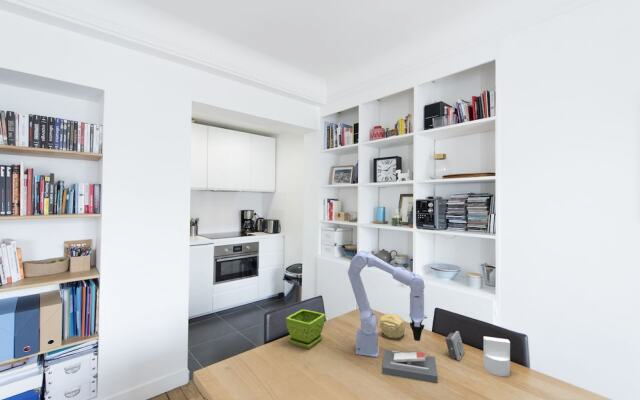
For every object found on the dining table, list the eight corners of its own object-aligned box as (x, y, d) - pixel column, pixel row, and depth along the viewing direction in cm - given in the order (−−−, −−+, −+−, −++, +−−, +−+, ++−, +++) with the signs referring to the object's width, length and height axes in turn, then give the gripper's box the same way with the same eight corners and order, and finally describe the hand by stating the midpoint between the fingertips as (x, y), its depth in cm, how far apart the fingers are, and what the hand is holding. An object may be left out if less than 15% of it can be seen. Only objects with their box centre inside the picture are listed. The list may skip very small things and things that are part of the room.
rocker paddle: (394, 362, 118) (393, 359, 118) (394, 355, 123) (394, 352, 123) (425, 360, 115) (424, 357, 115) (424, 354, 119) (424, 351, 120)
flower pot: (326, 340, 143) (326, 313, 142) (309, 352, 131) (309, 324, 131) (302, 333, 150) (302, 308, 150) (284, 344, 138) (284, 317, 138)
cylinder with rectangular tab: (506, 365, 120) (506, 336, 120) (512, 378, 112) (512, 346, 112) (481, 361, 123) (481, 333, 123) (485, 373, 115) (485, 343, 115)
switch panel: (382, 373, 115) (382, 361, 115) (385, 355, 128) (385, 344, 128) (437, 383, 109) (437, 370, 109) (434, 362, 123) (434, 351, 123)
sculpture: (377, 337, 145) (377, 315, 145) (386, 328, 155) (386, 307, 155) (400, 343, 139) (400, 320, 139) (408, 334, 149) (408, 312, 149)
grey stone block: (459, 362, 123) (457, 339, 124) (446, 359, 126) (444, 336, 127) (465, 352, 131) (462, 331, 131) (452, 350, 134) (450, 329, 134)
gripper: (427, 312, 117) (427, 346, 117) (426, 300, 131) (426, 330, 131) (409, 310, 119) (409, 343, 119) (409, 298, 133) (409, 328, 133)
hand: (416, 336), depth 125 cm, fingers open, 6 cm apart
